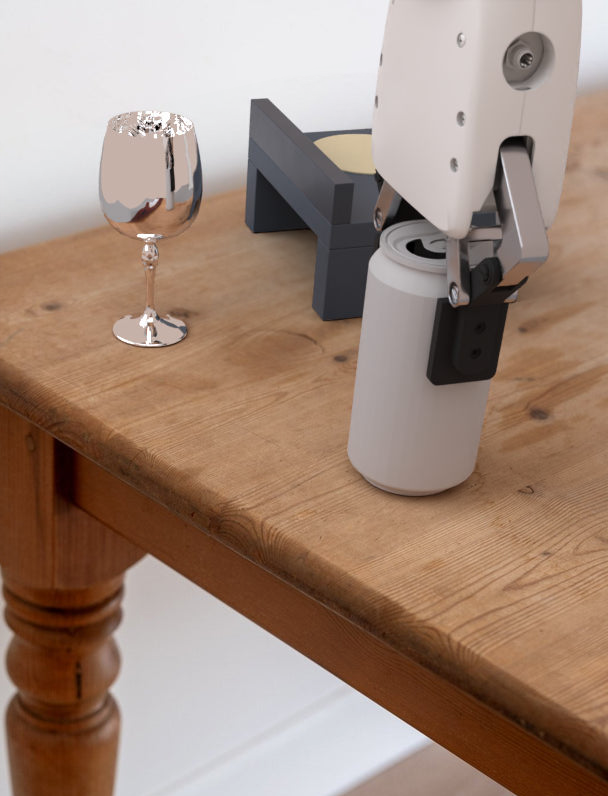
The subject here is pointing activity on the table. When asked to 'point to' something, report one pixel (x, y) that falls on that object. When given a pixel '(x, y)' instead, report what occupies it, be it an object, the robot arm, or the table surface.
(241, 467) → the table surface
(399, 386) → the beverage can
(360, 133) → the dark grey stand
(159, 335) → the wineglass
